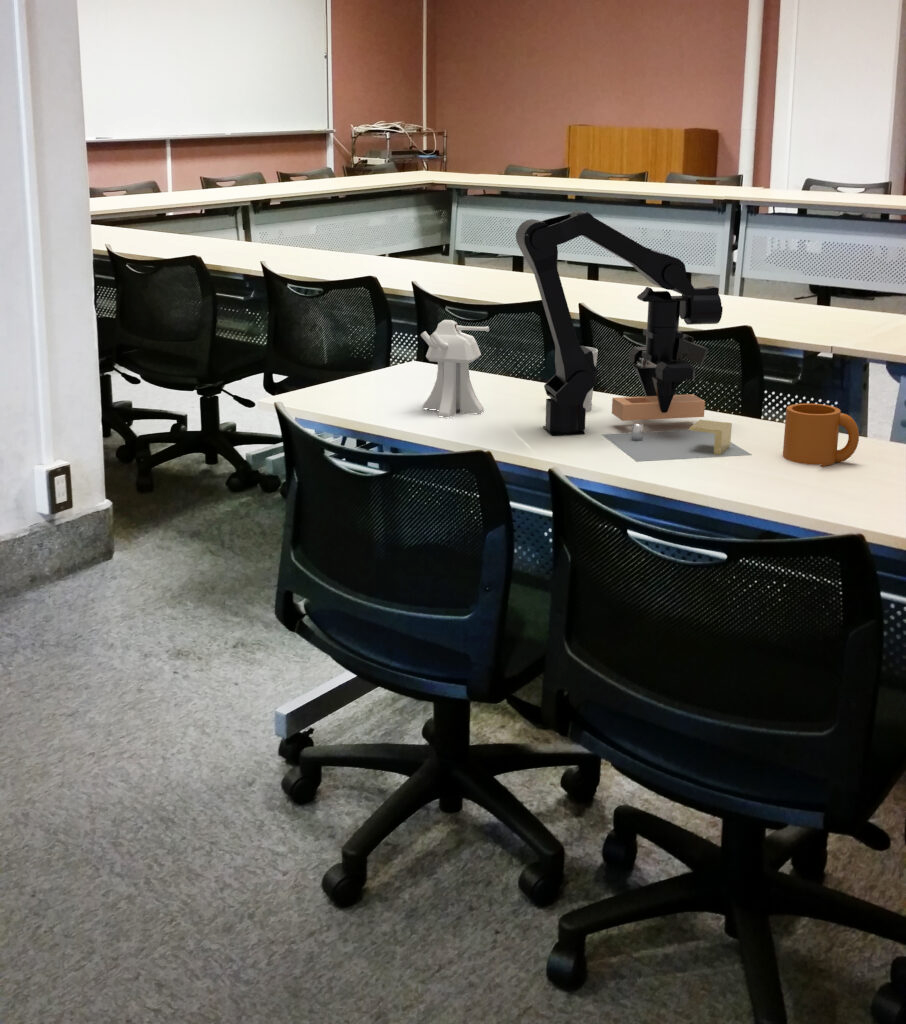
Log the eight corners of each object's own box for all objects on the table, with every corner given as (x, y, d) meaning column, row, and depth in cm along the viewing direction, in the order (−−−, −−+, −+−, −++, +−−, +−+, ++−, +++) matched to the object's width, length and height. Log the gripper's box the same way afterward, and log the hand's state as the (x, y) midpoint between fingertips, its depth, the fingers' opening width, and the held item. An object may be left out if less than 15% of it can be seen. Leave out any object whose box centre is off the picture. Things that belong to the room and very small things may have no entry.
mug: (846, 473, 197) (851, 420, 194) (775, 462, 203) (778, 411, 201) (861, 459, 204) (866, 408, 201) (792, 450, 211) (796, 400, 208)
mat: (636, 463, 202) (636, 461, 202) (601, 436, 219) (601, 434, 219) (751, 457, 206) (752, 454, 206) (708, 430, 223) (708, 428, 223)
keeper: (688, 451, 208) (689, 426, 207) (698, 443, 213) (700, 419, 212) (720, 455, 206) (722, 430, 204) (729, 447, 211) (731, 423, 209)
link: (622, 420, 220) (623, 404, 219) (611, 413, 225) (612, 397, 224) (704, 416, 223) (705, 401, 222) (691, 409, 228) (692, 394, 227)
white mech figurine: (478, 420, 231) (479, 327, 225) (414, 415, 235) (413, 323, 229) (496, 407, 241) (497, 318, 236) (434, 402, 245) (434, 314, 240)
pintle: (633, 441, 214) (634, 425, 213) (629, 438, 216) (630, 422, 215) (644, 440, 215) (644, 424, 214) (640, 438, 216) (640, 422, 215)
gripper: (725, 332, 212) (718, 418, 216) (684, 316, 229) (679, 396, 234) (665, 334, 209) (660, 421, 214) (629, 317, 227) (625, 398, 232)
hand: (657, 408), depth 223 cm, fingers closed on link, 6 cm apart
